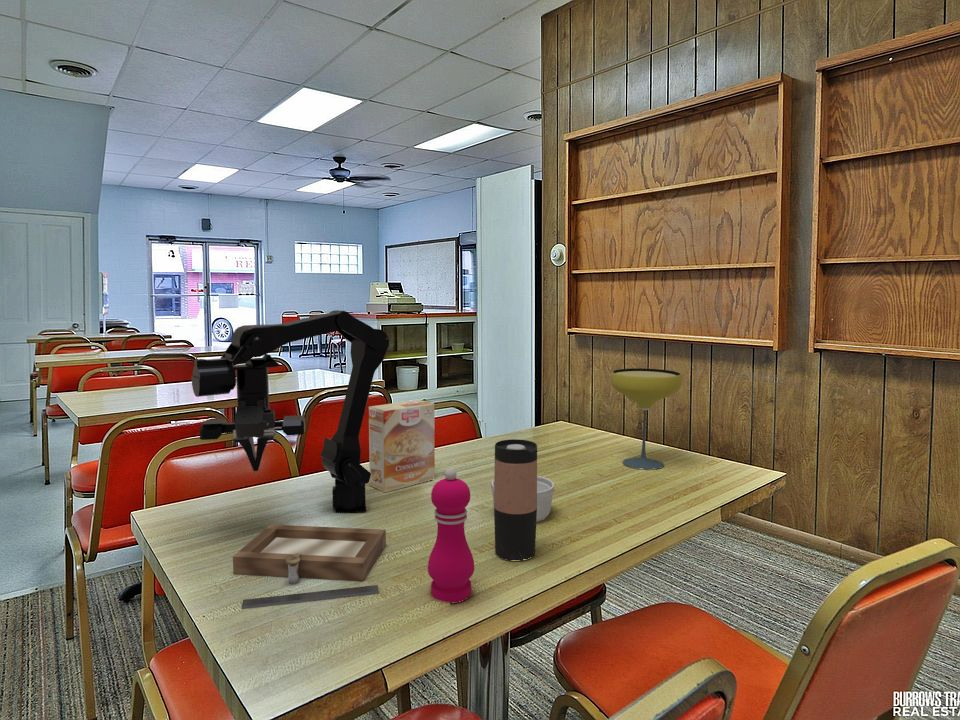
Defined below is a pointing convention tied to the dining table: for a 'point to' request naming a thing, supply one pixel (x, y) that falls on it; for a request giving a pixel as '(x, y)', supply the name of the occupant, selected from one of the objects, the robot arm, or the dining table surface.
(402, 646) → the dining table surface
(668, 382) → the cocktail glass
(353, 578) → the picture frame
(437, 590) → the pepper mill
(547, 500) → the ramekin
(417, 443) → the coffeecake box
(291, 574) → the screw post
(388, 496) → the dining table surface
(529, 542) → the travel mug
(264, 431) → the robot arm
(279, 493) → the dining table surface
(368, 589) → the strip
